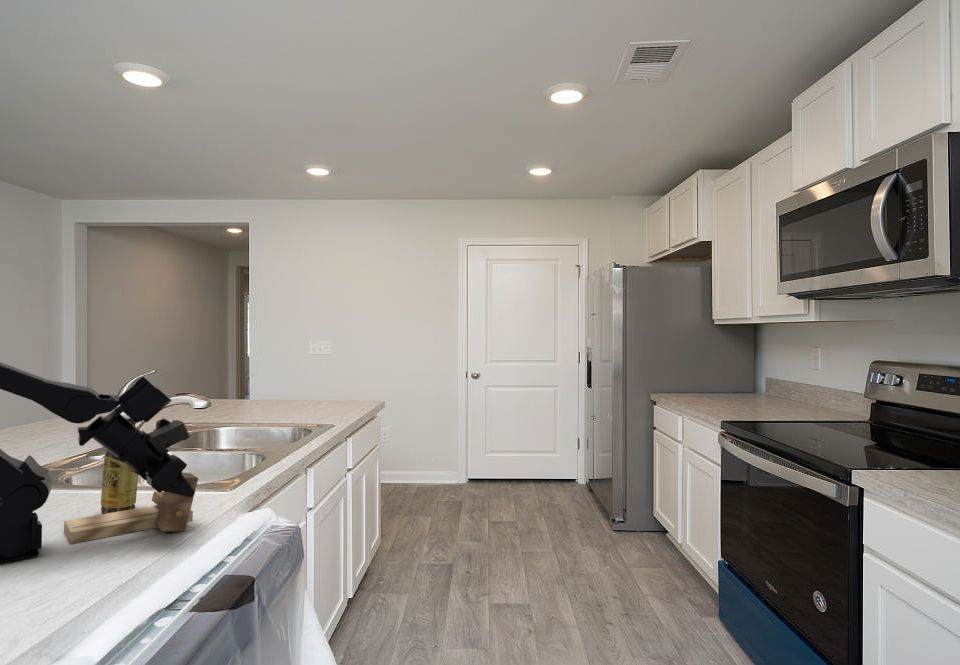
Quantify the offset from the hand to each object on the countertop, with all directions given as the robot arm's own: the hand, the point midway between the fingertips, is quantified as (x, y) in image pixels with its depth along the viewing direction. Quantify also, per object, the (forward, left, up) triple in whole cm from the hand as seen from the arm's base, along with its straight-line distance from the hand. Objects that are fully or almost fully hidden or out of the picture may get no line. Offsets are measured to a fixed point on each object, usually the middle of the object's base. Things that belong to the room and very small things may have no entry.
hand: (188, 491), depth 111 cm
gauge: (-3, +4, -6) cm, 8 cm away
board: (-8, +7, -7) cm, 13 cm away
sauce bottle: (-8, +18, -7) cm, 21 cm away
